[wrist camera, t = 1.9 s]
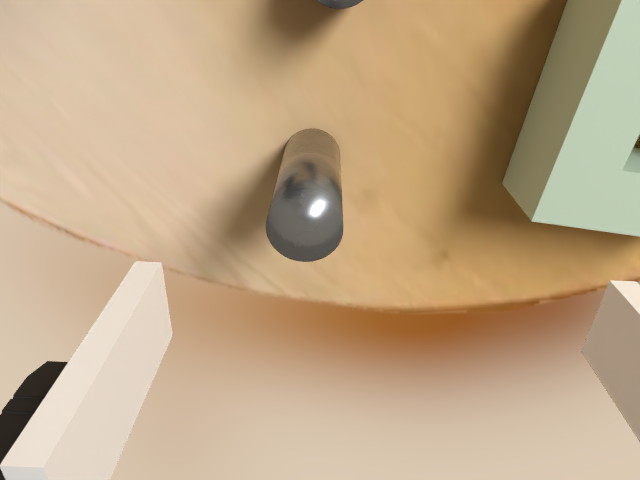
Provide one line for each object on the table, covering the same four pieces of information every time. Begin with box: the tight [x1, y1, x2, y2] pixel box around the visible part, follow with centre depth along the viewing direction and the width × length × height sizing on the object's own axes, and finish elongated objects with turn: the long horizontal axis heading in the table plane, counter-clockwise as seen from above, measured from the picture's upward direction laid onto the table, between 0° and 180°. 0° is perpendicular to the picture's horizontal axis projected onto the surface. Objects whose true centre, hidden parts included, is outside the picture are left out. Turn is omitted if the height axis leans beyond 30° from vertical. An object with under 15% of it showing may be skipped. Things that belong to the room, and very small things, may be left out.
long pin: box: [266, 129, 343, 262], centre depth 30 cm, size 4×4×11 cm
